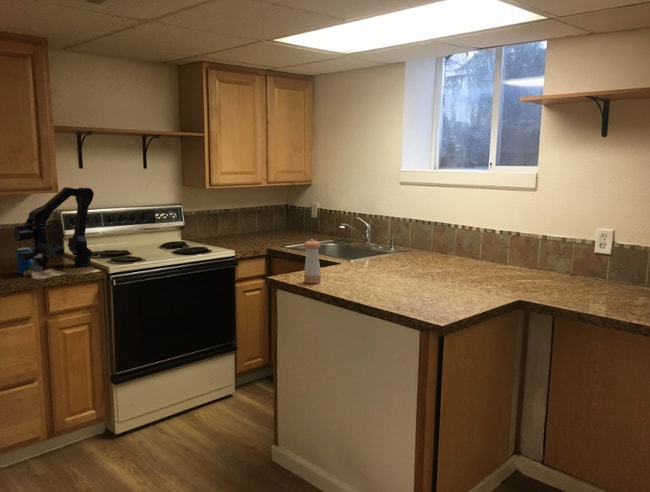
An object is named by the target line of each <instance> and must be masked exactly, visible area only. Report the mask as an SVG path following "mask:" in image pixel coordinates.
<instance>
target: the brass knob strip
mask: <svg viewBox="0 0 650 492" xmlns="http://www.w3.org/2000/svg"><path fill="white" fill-rule="evenodd" d="M31 273H34V270H30V269H28V275H25V276H24V277H26V276H27V278H31Z"/></svg>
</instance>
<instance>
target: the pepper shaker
mask: <svg viewBox="0 0 650 492" xmlns="http://www.w3.org/2000/svg"><path fill="white" fill-rule="evenodd" d="M303 247H304V249H305V262H304V263H305V264H304V274H303V283H304V282H306V283H305V284H307V283H318V284H320V283H321V282H322V281H321V280H322V279H321V277H322V276H321V265H320V258H319V257H320V256H319V249H321V244H320V242H319V241H317V240H315V239H313V238H311V239H310V240H308V241H305V242H304V244H303Z"/></svg>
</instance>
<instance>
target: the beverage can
mask: <svg viewBox="0 0 650 492" xmlns="http://www.w3.org/2000/svg"><path fill="white" fill-rule="evenodd" d="M27 251H28V252H33V249H31V247H20V248H17V249H16V262H17V271H18V273H19V274H24V273H23V272H24V271H28V269H29V267H31V266H34V259H30V260H22V259H19V253H21V252H27Z"/></svg>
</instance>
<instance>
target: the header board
mask: <svg viewBox="0 0 650 492" xmlns="http://www.w3.org/2000/svg"><path fill="white" fill-rule="evenodd" d="M22 274H23V277H27V276H25V275H28V271H24V272H23V273H22ZM66 274H69V273H67V272H64V271H60V270H54V269H53V268H49V269H47V268H46V269H45V270H44V271H39V272H34V273H31V277H30V278H31V279H34V280H35V279H36V280H44V279H47V278H53V277H58V276H62V275H66ZM27 278H28V277H27Z"/></svg>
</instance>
